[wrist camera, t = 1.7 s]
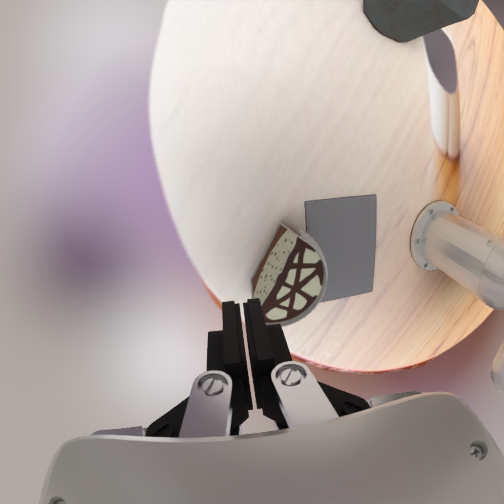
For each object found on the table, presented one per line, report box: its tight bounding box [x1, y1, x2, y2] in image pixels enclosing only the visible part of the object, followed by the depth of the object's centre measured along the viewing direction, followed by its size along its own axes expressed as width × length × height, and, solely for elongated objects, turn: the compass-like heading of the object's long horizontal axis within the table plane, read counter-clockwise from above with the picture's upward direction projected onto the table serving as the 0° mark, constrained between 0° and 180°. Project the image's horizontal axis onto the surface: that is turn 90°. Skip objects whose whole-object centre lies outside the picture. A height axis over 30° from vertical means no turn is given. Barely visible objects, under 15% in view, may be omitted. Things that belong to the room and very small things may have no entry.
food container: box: [251, 222, 328, 327], centre depth 34 cm, size 12×6×10 cm, turn 154°
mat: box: [305, 195, 376, 303], centre depth 39 cm, size 11×16×1 cm
